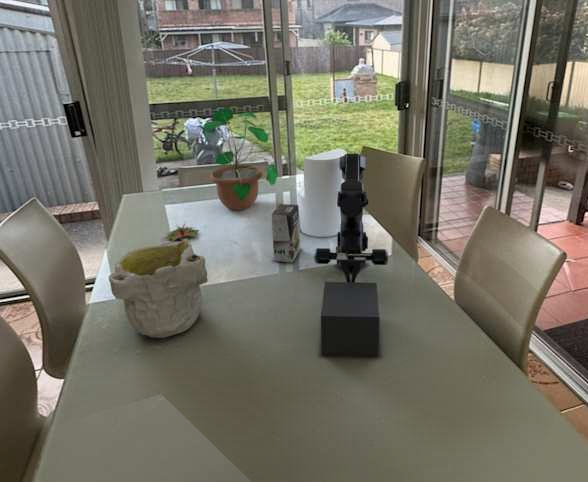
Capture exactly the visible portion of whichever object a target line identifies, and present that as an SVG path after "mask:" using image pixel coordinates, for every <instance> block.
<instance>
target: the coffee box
mask: <svg viewBox="0 0 588 482" xmlns="http://www.w3.org/2000/svg"><path fill="white" fill-rule="evenodd" d="M270 216H271V229H272V230H271V231H272V232H271V233H272V247H273V249H272V250H273V261H275V262H282V263H283V262H284V263H292V264H293V262H294V261H295V259H296V257H297V256H298V254H299V252H300V250H301V239H300V238H301V237H300V234H301V233H300V220H299V204H290V203H289V204H288V203H286V204H285V203H280V204H278V206H277V207H276V208H275V210H274V211H272V213H271V215H270Z"/></svg>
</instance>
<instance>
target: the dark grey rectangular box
mask: <svg viewBox="0 0 588 482" xmlns="http://www.w3.org/2000/svg"><path fill="white" fill-rule="evenodd" d="M323 285H324V286H323V293H322V294H323V295H322V303H321V311H320V340H321V341H320V342H321V343H320V345H321V348H320V349H321V356H339V357H340V356H344V357H350V356H351V357H379V340H380V339H379V336H380V310H379V309H380V308H379V295H378V284H377V282H356V281H355V282H347V281H324V284H323Z"/></svg>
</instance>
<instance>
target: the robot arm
mask: <svg viewBox="0 0 588 482" xmlns="http://www.w3.org/2000/svg"><path fill="white" fill-rule="evenodd" d="M366 162H367V161H366V157H365V156H363V155H361V153H348V152H347V154H345V156H342V157H340V167H339V168H340V170H342V178H343V179H344V180H345V181H344V182H343V183H342V184H341V191H338V199H337V207H340V215H341V224H340V232H338V234H337V235H336V236H337V238H336V239H337V242H336V243H337V246H335V252H331V248H330V247H329V248H325V247H317V248H315V250H314V256H313V259H314V262H315V264H317V265H328V264H330V262H331V261H336V267H337V268H341V271H342V272H343V274H344V277H345V282H356V280H357V277H358V275H359V273H360V271H361V269H362V268H365V267H366V265H367V263H366V262H367V261H371V263H372V265H374V266H387V265H388V261H389V252H388V250H387V249H384V248H372V249H371V252H366V250H367V249H369V247H368V246H369V236H368V235H367V232H366V231H364V223H363V214H364V208H366V207H367V206H368V205H369V195H368V194H367V192H366V191H364V183H362V182H361V181H362V179H363V177H364V171H366V167H367V165H366ZM350 273H351V274H350ZM350 275H351V276H350Z"/></svg>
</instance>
